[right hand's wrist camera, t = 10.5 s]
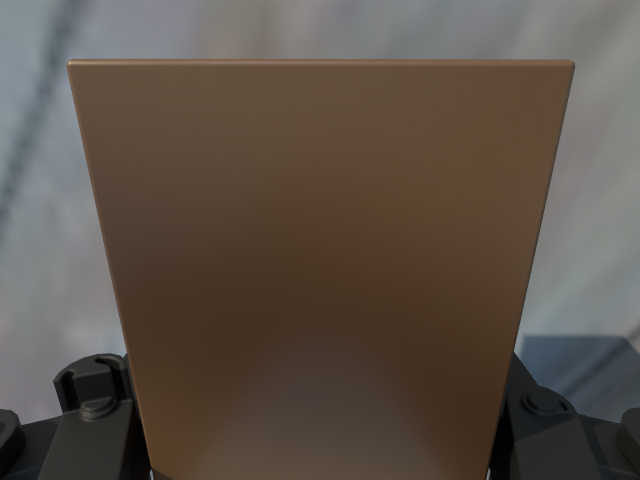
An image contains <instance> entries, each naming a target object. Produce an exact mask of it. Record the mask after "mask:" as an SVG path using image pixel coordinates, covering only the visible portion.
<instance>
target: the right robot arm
mask: <svg viewBox="0 0 640 480" xmlns="http://www.w3.org/2000/svg"><path fill="white" fill-rule="evenodd" d="M53 382H54V385H55V389H56V392H57V395H58V399H59V402H60V405H61V409H62V412H63V415H62V416H58V417H55V418H51V419H47V420H42V421H38V422H34V423H29V424H25V425H21V423H20V420H19V418H18V415H17V414H15V413H14V412H13V411H12V410H4V409H0V480H151V475H150V471H151V469H152V468H151V463H150V459H149V454H148V449H147V444H146V440H145V435H144V430H143V425H142V421H141V416H140V411H139V406H138V402H137V397H136V392H135V388H134V383H133V378H132V373H131V369H130V364H129V359H128V354H127V353H126V355H125V356H124V358H122V357H121V356H120V355H115V354H111V353H108V354H96V355H92V356H89V357H85V358H82V359H80V360H78V361H76V362H74V363H71V364H70V365H68V366H67V367H66V368H64V369H63V370H62V371H60V372H59V374H58V375H57V376H56V378H55V379H54V380H53ZM489 468H490V475H489V480H640V408H632V409H629V410H627V411H626V412H625V413H624V414H623V416H622V419H621V422H620V424H618V423H614V422H609V421H605V420H601V419H596V418H592V417H588V416H584V415H581V414H578V413H577V412H576V411H575V409H574V407H573V406H572V404H571V403H570V402H568V401H567V400H566V399H565V398H564V397H562V396H561V395H560V394H558V393H556V392H554V391H552V390H550V389H548V388H545V387H542V386H538V384H537V383H536V382H535V380H534V379H533V377H532V376H531V375H530V373H529V372H528V370H527V369H526V368H525V366H524V365H523V364H522V362H521V361H520V359H519V358H518V357H517V355H516V354H515V353H513V357H512V362H511V366H510V371H509V376H508V380H507V385H506V390H505V394H504V399H503V404H502V408H501V413H500V418H499V422H498V427H497V431H496V436H495V441H494V445H493V450H492V455H491V459H490V464H489Z"/></svg>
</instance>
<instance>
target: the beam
mask: <svg viewBox="0 0 640 480" xmlns="http://www.w3.org/2000/svg"><path fill="white" fill-rule="evenodd" d="M574 69H575V63H574V62H572V61H570V60H400V59H72V60H70V61H68V62H67V70H68V75H69V80H70V85H71V89H72V94H73V99H74V104H75V108H76V113H77V118H78V122H79V127H80V132H81V137H82V141H83V146H84V151H85V156H86V160H87V165H88V170H89V175H90V179H91V184H92V189H93V193H94V198H95V203H96V208H97V212H98V217H99V222H100V227H101V231H102V236H103V241H104V246H105V250H106V255H107V260H108V264H109V269H110V274H111V279H112V283H113V288H114V293H115V298H116V302H117V307H118V312H119V317H120V321H121V326H122V331H123V335H124V340H125V345H126V350H127V354H128V359H129V364H130V369H131V373H132V378H133V383H134V388H135V392H136V397H137V402H138V406H139V411H140V416H141V421H142V425H143V430H144V435H145V440H146V444H147V449H148V454H149V459H150V463H151V468H152V473H153V477H154V480H486V478H487V473H488V469H489V464H490V459H491V455H492V450H493V445H494V441H495V436H496V431H497V427H498V422H499V418H500V413H501V408H502V404H503V399H504V394H505V390H506V385H507V380H508V376H509V371H510V366H511V362H512V357H513V353H514V348H515V343H516V339H517V334H518V329H519V325H520V320H521V315H522V311H523V306H524V302H525V297H526V292H527V288H528V283H529V278H530V274H531V269H532V264H533V260H534V255H535V250H536V246H537V241H538V237H539V232H540V227H541V223H542V218H543V213H544V209H545V204H546V199H547V195H548V190H549V185H550V181H551V176H552V172H553V167H554V162H555V158H556V153H557V148H558V144H559V139H560V134H561V130H562V125H563V120H564V116H565V111H566V107H567V102H568V97H569V93H570V88H571V83H572V79H573V74H574Z"/></svg>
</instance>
